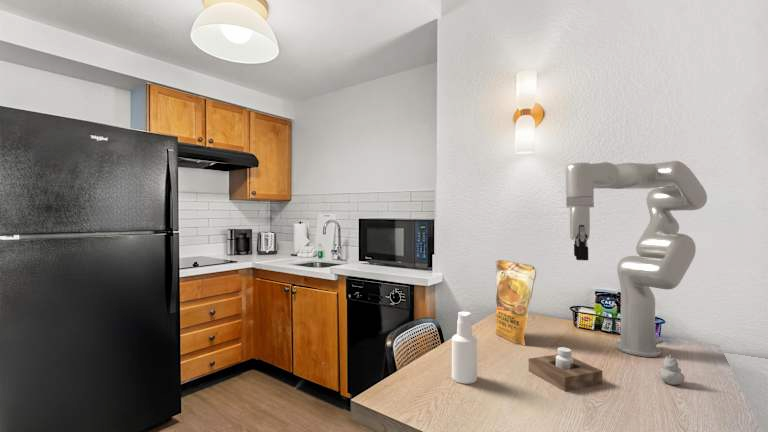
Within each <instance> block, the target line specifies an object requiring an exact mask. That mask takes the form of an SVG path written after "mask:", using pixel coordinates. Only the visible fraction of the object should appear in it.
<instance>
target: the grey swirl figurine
mask: <svg viewBox="0 0 768 432" xmlns="http://www.w3.org/2000/svg"><path fill="white" fill-rule="evenodd" d="M662 362H663V363H662V365H663V367H660V368H659V369H658V375H659V379H660V380H661V381H663V382H664V383H666V384H669V385H672V386H673V385H674V386H675V385H679V384H683V383H684V382H685V375H684V373H682V369H681V368H680V367H679V362H678V361H677V359H676V358H675V357H673V358H672V355H671V354H669V355H667V356H666V357H665V359H664V360H663V361H662Z"/></svg>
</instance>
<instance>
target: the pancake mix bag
mask: <svg viewBox="0 0 768 432" xmlns="http://www.w3.org/2000/svg"><path fill="white" fill-rule="evenodd" d="M495 266H496V267H495V270H496V271H495V313H496V315H495V328H494V329H495V330H494V331H495V334H496V335H497V336H498V337H501V338H502V339H504V340H507V341H509V342H510V343H513V344H515V345H522V346H525V345H526V341H525V332H526V329H527V324H528V317H529V313H530V312H529V310H530V306H531V301H532V296H533V290H534V285H535V280H536V277H537V269H536V268H535V267H534V265H531V264H525V263H519V262H515V261H509V260H502V259H498V260H496V261H495Z"/></svg>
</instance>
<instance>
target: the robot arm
mask: <svg viewBox="0 0 768 432" xmlns="http://www.w3.org/2000/svg"><path fill="white" fill-rule="evenodd" d="M594 189H611V190H613V189H614V190H615V189H616V190H617V189H618V190H623V189H627V190H628V189H629V190H630V189H631V190H632V189H635V190H636V189H643V190H644V189H645V190H647V189H651V190H650V191H648V193H647V195H646V206H647V208H648V214H649V223H648V224H647V226H646V227H645V230H644V231H643V233H642V234H641V237H640V238H639V239H638V241H637V243H636V246H635V251H636V254H637V255H629V256H625V257H622V258H621V259H620V260H619V261H618V263H617V266H616V267H617V268H616V270H617V271H616V272H617V276H618V280H619V281H618V282H619V285H620V289H619V290H620V340H618V341H616V342H615V343H614V345H615V348H616V349H617V350H619V351H621V352H623V353H626V354H628V355H629V354H630V355H633V356H638V357H644V358H658V357H660V356H661V355H662V350H661V349H660V348H659V347H657V345H658V344H663V343H664V339H663V337H660V336H659V337H656V298H655V295H654V293H653V290H651V288H654V289H662V290H674V289H675V288H677V287H678V286H679V285H680V284H681V282H682V280H683V278H684V276H685V275H686V273H687V271H688V270H689V268H690V265H691V264H692V262H693V261H694V258H695V255H696V250H697V249H696V243H695V241H694V239H693V238H692V237H691V236H689V235H687V234H684V233H679V230H680V225H679V222H678V221H677V218H675V216H673V214H672V211H675V212H676V211H697V210H700V209H702V208H703V207H705V206H706V203H707V201H708V195H707V191H706V190H705V188H704V186H703V184H702V183H701V182H700V181H699V178H697V176H696V175H695V174H694V172H693V171H692V170H691V169H690V167H688V165H686V164H685V163H684V162H682V161H679V160H672V161H666V162H665V161H664V162H655V163H642V162H640V163H639V162H637V163H636V162H623V163H616V164H614V163H612V162H597V163H590V162H575V163H570V164H568V165H566V167H565V195H566V196H565V199H566V200H565V201H566V203H565V206H566V209H569V238H570V239H571V240H573V241H574V243H573V256H574V257H575V260H577V261H589V246H588V245H589V244H588V240H590V232H591V230H590V229H591V224H590V223H591V218H590V217H591V216H590V215H591V214H590V212H591V211H590V209H591V208H595V206H594V204H595V200H594V199H595V198H594V197H595V195H594V194H595V191H594Z"/></svg>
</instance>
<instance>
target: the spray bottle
mask: <svg viewBox="0 0 768 432" xmlns="http://www.w3.org/2000/svg"><path fill="white" fill-rule="evenodd" d="M457 317H458V318H457V322H456V324H457V325H456V334H454V335H452V337H451V378H452V380H453V381H454V382H456V383H460V384H464V385H465V384H466V385H467V384H474V383H476V381H477V380H478V338H477V337H476V336H474V335H473V326H472V322H473V321H472V313H471V312H469V311H458V313H457Z"/></svg>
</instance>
